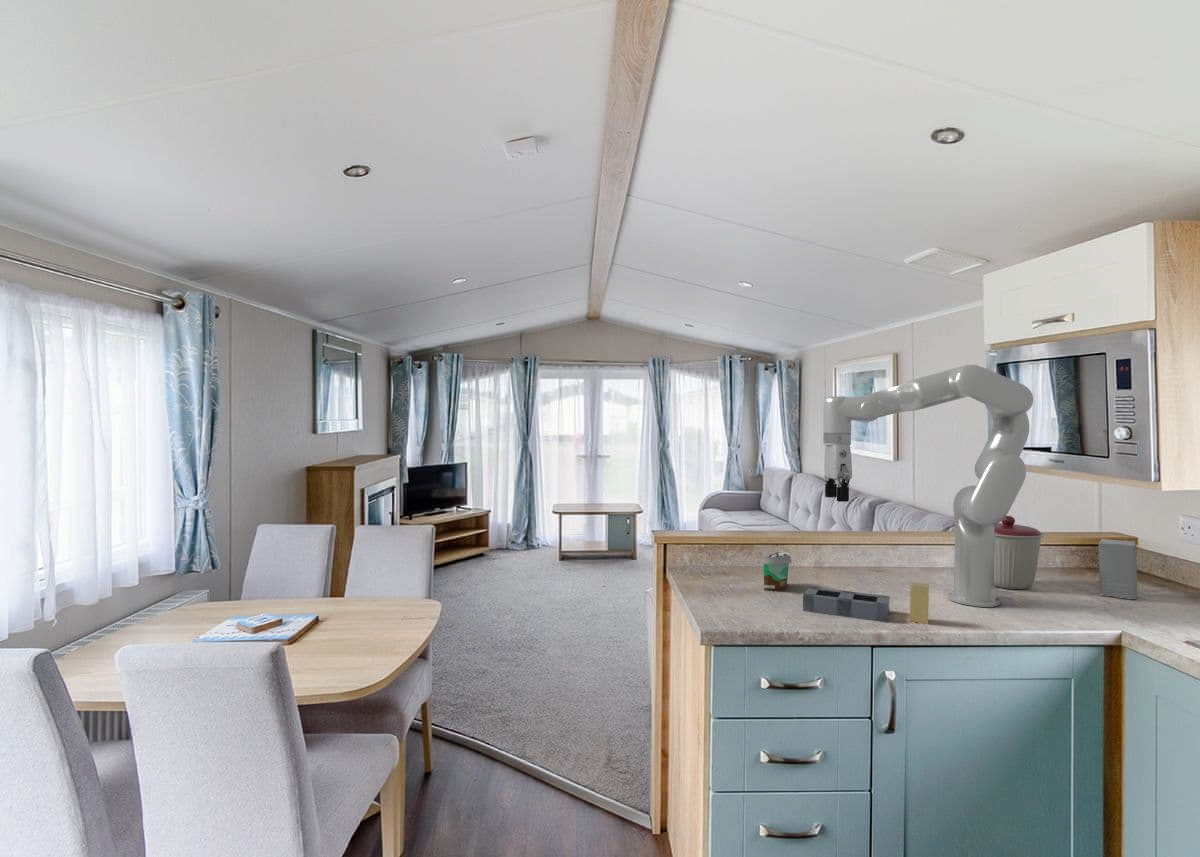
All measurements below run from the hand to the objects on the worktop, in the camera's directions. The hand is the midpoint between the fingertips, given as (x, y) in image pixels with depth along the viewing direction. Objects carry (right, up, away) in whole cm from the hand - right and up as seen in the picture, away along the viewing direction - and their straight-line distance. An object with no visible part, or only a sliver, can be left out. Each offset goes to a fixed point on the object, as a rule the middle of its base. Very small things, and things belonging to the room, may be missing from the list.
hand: (836, 499), depth 189 cm
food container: (-15, -27, +4) cm, 31 cm away
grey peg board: (-4, -27, -18) cm, 33 cm away
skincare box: (+80, -28, -1) cm, 84 cm away
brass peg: (+11, -27, -26) cm, 39 cm away
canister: (+55, -27, +10) cm, 62 cm away
